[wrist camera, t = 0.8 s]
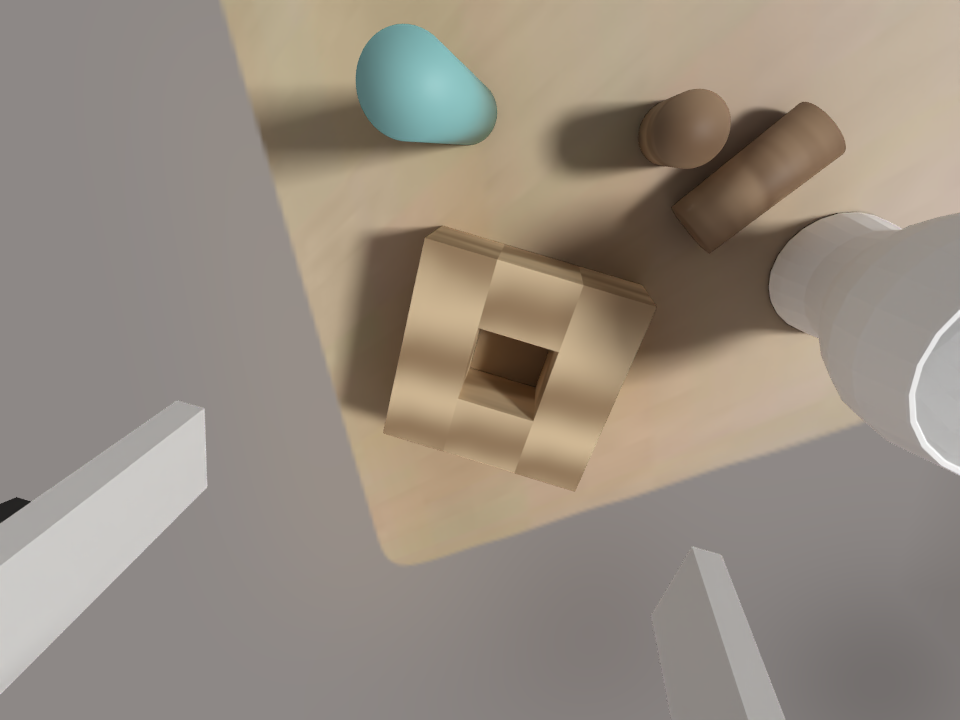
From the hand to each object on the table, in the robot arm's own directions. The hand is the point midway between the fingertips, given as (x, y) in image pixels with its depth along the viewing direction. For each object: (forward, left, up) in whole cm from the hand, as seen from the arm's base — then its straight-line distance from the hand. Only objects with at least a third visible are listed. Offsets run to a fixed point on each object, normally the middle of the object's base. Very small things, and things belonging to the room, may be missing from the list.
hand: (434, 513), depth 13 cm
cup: (-7, +20, -23) cm, 31 cm away
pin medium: (-7, +10, -21) cm, 24 cm away
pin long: (-10, -5, -23) cm, 26 cm away
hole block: (+4, +2, -23) cm, 23 cm away
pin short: (-12, +7, -23) cm, 27 cm away
